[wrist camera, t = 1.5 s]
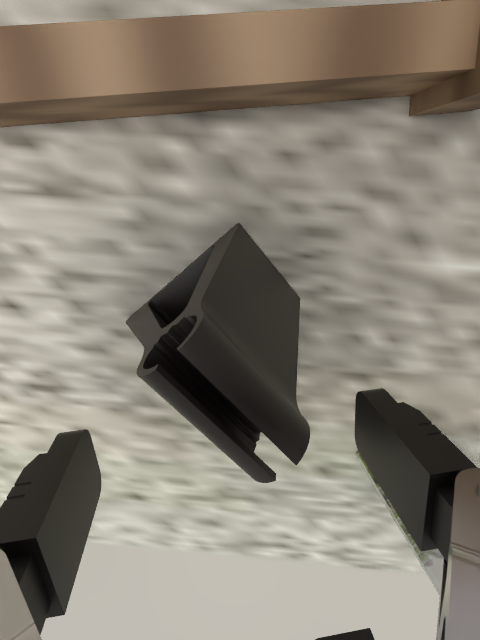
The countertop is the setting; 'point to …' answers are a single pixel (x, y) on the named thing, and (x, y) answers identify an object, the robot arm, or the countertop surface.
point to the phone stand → (228, 351)
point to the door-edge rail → (242, 62)
